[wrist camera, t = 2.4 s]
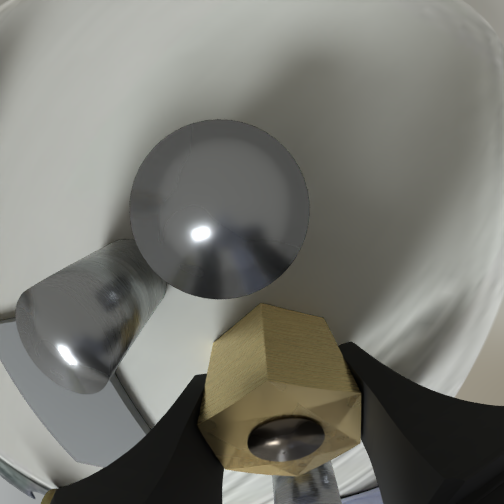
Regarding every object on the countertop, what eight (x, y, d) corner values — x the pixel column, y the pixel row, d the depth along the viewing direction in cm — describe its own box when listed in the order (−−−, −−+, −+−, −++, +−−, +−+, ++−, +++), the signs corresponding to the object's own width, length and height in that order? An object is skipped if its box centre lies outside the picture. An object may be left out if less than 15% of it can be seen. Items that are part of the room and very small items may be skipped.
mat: (180, 468, 13) (179, 475, 13) (78, 456, 14) (76, 461, 13) (80, 304, 10) (74, 310, 10) (-11, 322, 11) (-17, 326, 10)
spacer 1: (177, 306, 10) (131, 394, 5) (113, 318, 10) (50, 392, 6) (151, 230, 10) (74, 274, 5) (87, 250, 10) (1, 297, 5)
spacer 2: (286, 228, 10) (324, 276, 5) (202, 248, 10) (160, 313, 5) (266, 142, 9) (285, 101, 4) (179, 165, 9) (112, 152, 4)
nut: (332, 386, 11) (360, 462, 7) (238, 406, 12) (235, 486, 7) (319, 288, 10) (361, 359, 6) (203, 315, 10) (178, 396, 6)
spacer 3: (326, 450, 13) (343, 518, 8) (275, 460, 13) (281, 530, 8) (322, 421, 12) (343, 500, 7) (264, 433, 12) (269, 514, 7)
